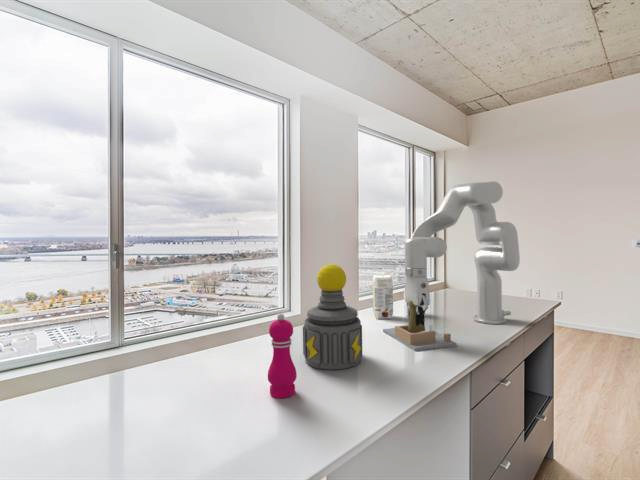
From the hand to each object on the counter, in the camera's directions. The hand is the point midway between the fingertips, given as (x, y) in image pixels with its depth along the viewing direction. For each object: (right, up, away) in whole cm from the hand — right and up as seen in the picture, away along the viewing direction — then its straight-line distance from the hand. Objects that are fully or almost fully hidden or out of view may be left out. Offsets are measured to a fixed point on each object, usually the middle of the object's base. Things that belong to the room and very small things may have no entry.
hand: (416, 323), depth 130 cm
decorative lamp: (-30, -8, -17) cm, 36 cm away
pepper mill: (-44, -9, -39) cm, 59 cm away
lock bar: (+6, -5, +11) cm, 14 cm away
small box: (+8, -5, +39) cm, 40 cm away
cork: (0, -2, 0) cm, 2 cm away
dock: (+1, -6, +4) cm, 8 cm away
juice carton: (-6, -6, +36) cm, 37 cm away
